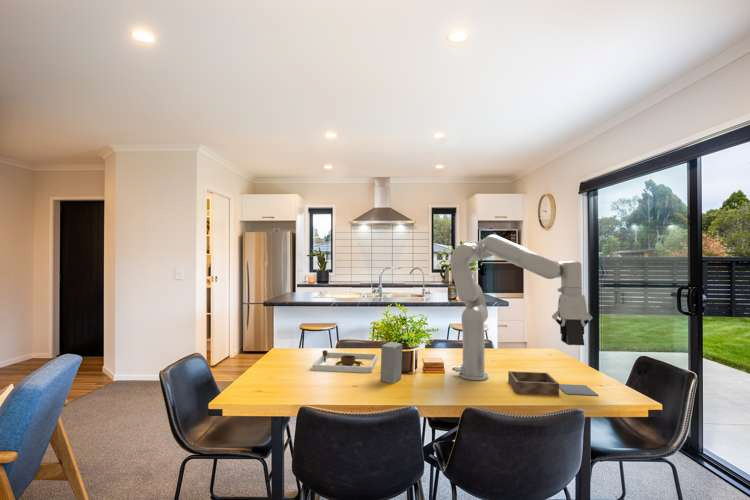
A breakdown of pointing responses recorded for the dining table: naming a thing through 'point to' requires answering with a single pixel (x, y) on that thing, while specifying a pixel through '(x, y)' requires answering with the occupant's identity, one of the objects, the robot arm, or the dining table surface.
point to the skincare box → (391, 362)
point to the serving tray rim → (346, 368)
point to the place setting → (344, 360)
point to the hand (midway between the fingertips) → (572, 335)
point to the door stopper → (573, 333)
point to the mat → (577, 390)
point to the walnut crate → (533, 383)
